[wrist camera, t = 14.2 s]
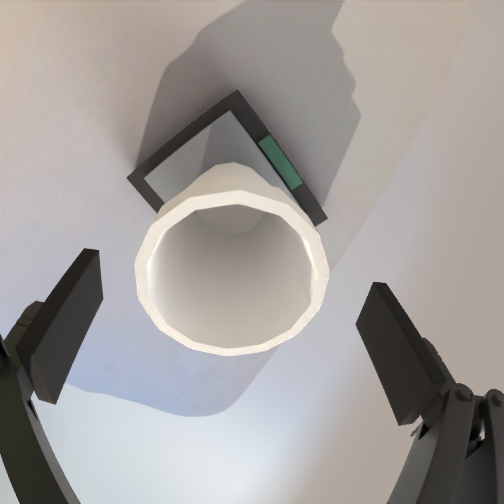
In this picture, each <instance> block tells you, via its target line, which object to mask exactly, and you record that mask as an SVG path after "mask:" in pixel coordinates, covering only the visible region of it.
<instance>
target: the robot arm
mask: <svg viewBox="0 0 504 504" xmlns="http://www.w3.org/2000/svg"><path fill="white" fill-rule="evenodd" d="M102 301H103V291H102V281H101V271H100V259H99V250H94V249H86V248H84V249H83V251H82V252H81V253H80V254H79V256H78V257H77V258H76V260H75V261H74V262H73V263H72V265H71V266H70V267H69V269H68V270H67V271H66V273H65V274H64V275H63V277H62V278H61V279H60V281H59V282H58V284H57V285H56V286H55V288H54V289H53V291H52V292H51V293H50V295H49V296H48V298H47V299H46V301H45V302H39V301H35V302H33V303H32V304H31V305H29V306H28V307H27V308H26V309H25V310H24V312H23V313H22V315H21V317H20V318H19V319H18V320H17V322H16V325H14V326H13V328H12V329H11V331H10V332H9V334H8V335H7V337H6V338H5V340H4V341H3V339H2V336H1V334H0V454H1V457H2V460H3V463H4V466H5V469H6V471H7V474H8V477H9V479H10V482H11V484H12V487H13V489H14V491H15V493H16V496H17V498H18V501H19V503H20V504H81V503H80V502H79V500H78V498H77V496H76V495H75V493H74V492H73V490H72V488H71V486H70V484H69V482H68V480H67V479H66V477H65V475H64V473H63V471H62V469H61V467H60V465H59V463H58V461H57V459H56V457H55V455H54V453H53V450H52V448H51V446H50V444H49V442H48V439H47V437H46V435H45V432H44V430H43V428H42V425H41V423H40V420H39V418H38V415H37V413H36V410H35V407H34V405H33V402H32V400H31V395H32V393H33V391H35V393H36V395H37V397H38V399H39V400H42V401H45V402H49V403H52V404H56V403H57V400H58V397H59V395H60V393H61V390H62V388H63V385H64V383H65V380H66V378H67V376H68V373H69V371H70V369H71V366H72V364H73V362H74V359H75V357H76V355H77V353H78V351H79V348H80V346H81V344H82V342H83V340H84V337H85V335H86V333H87V331H88V329H89V327H90V325H91V323H92V321H93V319H94V317H95V315H96V313H97V311H98V309H99V307H100V305H101V303H102ZM356 327H357V329H358V331H359V334H360V336H361V338H362V340H363V342H364V344H365V347H366V349H367V351H368V353H369V356H370V358H371V360H372V362H373V365H374V367H375V370H376V372H377V374H378V377H379V379H380V381H381V384H382V386H383V388H384V391H385V393H386V395H387V398H388V400H389V403H390V405H391V408H392V410H393V413H394V415H395V418H396V420H397V423H398V425H399V426H401V425H406V424H412V423H413V422H415V421H416V419H417V418H418V417H419V416H420V415H421V417H422V419H423V421H422V422H421V424H420V425H419V426H418V427H417V428H416V429H415V430H414V431H413V432H412V434H411V435H410V436H411V437H412V436H413V435H414V434H415V433H417V434H416V436H415V439H414V441H413V444H412V447H411V450H410V452H409V455H408V457H407V459H406V462H405V465H404V467H403V469H402V471H401V474H400V476H399V478H398V481H397V483H396V485H395V487H394V490H393V491H392V494H391V496H390V498H389V500H388V502H387V504H504V394H503V393H502V392H501V391H499V390H497V389H491V390H489V391H488V392H487V393H486V395H485V396H484V397H483V396H476V395H474V394H473V392H472V391H471V390H470V388H468V387H467V386H466V385H463V384H461V383H456V382H455V381H454V379H453V377H452V375H451V374H450V372H449V371H448V369H447V367H446V365H445V364H444V362H443V361H442V359H441V357H440V356H439V355H438V352H437V351H436V349H435V348H434V346H433V345H432V344H431V343H430V342H429V341H428V340H427V339H426V338H422V337H421V336H420V334H419V332H418V331H417V329H416V328H415V326H414V325H413V323H412V321H411V320H410V318H409V317H408V315H407V314H406V312H405V311H404V309H403V308H402V306H401V305H400V303H399V302H398V300H397V299H396V297H395V296H394V294H393V293H392V291H391V290H390V288H389V287H388V285H387V284H386V283H381V282H373V284H372V286H371V289H370V291H369V294H368V296H367V299H366V301H365V303H364V306H363V308H362V310H361V313H360V315H359V318H358V320H357V322H356ZM483 433H484V434H485V438H484V439H483V440H481V435H482V434H483Z"/></svg>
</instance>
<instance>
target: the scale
mask: <svg viewBox="0 0 504 504" xmlns="http://www.w3.org/2000/svg"><path fill="white" fill-rule="evenodd" d="M231 162H235V163H238V164H241V165H245V166H248V167H250V168H252V169H253V170H254V171H255V172H256V173H258V174H259V175H260V176H261V177H262V178H263V179H264V180H265V181H266V182H268V183H269V184H270V185H271V186H274V187H277V188H280V189H281V190H282V191H283V192H284V193H285V194H286V195H287V196H288V197H289V198H290V199H291V200H292V201H293V202H294V203H295V204H296V205H297V206H298V207H299V208H301V209H302V210H303V211H304V212H305V213H306V214H307V215H308V217H309V218H310V220H311V222H312V223H313V225H314V227H316V226H317V225H319V224H320V223H322V222H323V221H325V220H326V219H328V218H327V216H326V215H325V213H324V212H323V210H322V208H321V207H320V205H319V204H318V202H317V201H316V199H315V198H314V196H313V195H312V193H311V192H310V190H309V189H308V187H307V186H306V184H305V183H304V181H303V180H302V178H301V177H300V175H299V174H298V172H297V171H296V169H295V168H294V166H293V165H292V163H291V162H290V161H289V159H288V158H287V156H286V155H285V153H284V152H283V151H282V149H281V148H280V146H279V145H278V143H277V142H276V141H275V139H274V138H273V136H272V135H271V134H270V132H269V131H268V130H267V128H266V127H265V125H264V124H263V123H262V121H261V120H260V119H259V117H258V116H257V115H256V113H255V112H254V111H253V109H252V108H251V107H250V105H249V104H248V103H247V101H246V100H245V99H244V97H243V96H242V95H241V93H240V92H239V91H238V90H236V91H235V92H233V93H232V94H231V95H229V96H228V97H226V98H225V99H223V100H222V101H221V102H219V103H218V104H217V105H215V106H214V107H212V108H211V109H210V110H208V111H207V112H206V113H204V114H203V115H202V116H200V117H199V118H198V119H196V120H195V121H194V122H192V123H191V124H190V125H189V126H187V127H186V128H185V129H184V130H182V131H181V132H180V133H178V134H177V135H176V136H175V137H173V138H172V139H171V140H170V141H169V142H167V143H166V144H165V145H164V146H163V147H161V148H160V149H159V150H158V151H157V152H155V153H154V154H153V155H152V156H151V157H149V158H148V159H147V160H146V161H145V162H144V163H143V164H141V165H140V166H139V167H138V168H137V169H136V170H135V171H134V172H132V173H131V174H130V175H129V176H128V177H127V179H128V180H129V182H130V183H131V184H132V185H133V186H134V187H135V188H136V190H137V191H138V192H139V193H140V194H141V195H142V197H143V198H144V199H145V200H146V201H147V202H148V203H149V205H150V206H151V207H152V208H153V209H154V210H155V211H156V212H157V214H158V212H159V210H160V208H161V207H162V206H163V205H164V204H166V203H167V202H168V201H170V200H171V199H172V198H174V197H175V196H177V195H178V194H179V193H181V192H182V191H184V190H185V189H186V188H187V187H188V186H189V185H191V184H192V183H193V182H194V181H195V180H196V179H197V178H198V177H199V176H200V175H202V174H203V173H205V172H206V171H208V170H209V169H211V168H212V167H214V166H215V165H218V164H225V163H231Z"/></svg>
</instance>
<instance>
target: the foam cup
mask: <svg viewBox="0 0 504 504" xmlns="http://www.w3.org/2000/svg"><path fill="white" fill-rule="evenodd" d="M134 264H135V274H136V284H137V293H138V299H139V301H140V302H141V304H142V305H143V307H144V308H145V310H146V311H147V313H148V314H149V316H150V317H151V319H152V320H153V322H154V323H155V325H156V326H157V327H158V329H160V330H161V331H163V332H164V333H166V334H167V335H169V336H170V337H172V338H174V339H175V340H177V341H178V342H180V343H181V344H183V345H185V346H186V347H188V348H190V349H194V350H198V351H203V352H208V353H213V354H217V355H222V356H234V355H242V354H250V353H257V352H264V351H266V350H268V349H270V348H272V347H274V346H276V345H278V344H280V343H282V342H284V341H286V340H288V339H290V338H292V337H294V336H296V335H297V334H298V333H299V332H300V331H301V330H302V329H303V328H304V326H305V325H306V324H307V323H308V322H309V321H310V319H311V318H312V317H313V316H314V315H315V314H316V313H317V311H318V310H319V309H320V308H321V305H322V301H323V297H324V294H325V289H326V286H327V282H328V278H329V274H330V271H329V267H328V264H327V260H326V256H325V253H324V249H323V246H322V242H321V239H320V235H319V233H318V232H317V230H316V228H315V227H314V225H313V223H312V222H311V220H310V218H309V217H308V215H307V214H306V213H305V212H304V211H303V210H302V209H301V208H299V207H298V206H297V205H296V204H295V203H294V202H293V201H292V200H291V199H290V198H289V197H288V196H287V195H286V194H285V193H284V192H283V191H282V190H281V189H280V188H277V187H274V186H271V185H270V184H269V183H268V182H266V181H265V180H264V179H263V178H262V177H261V176H260V175H259V174H258V173H256V172H255V171H254V170H253V169H252V168H250V167H248V166H245V165H241V164H238V163H235V162H231V163H225V164H218V165H215V166H214V167H212V168H211V169H209V170H208V171H206V172H205V173H203V174H202V175H200V176H199V177H198V178H197V179H196V180H195V181H194V182H193V183H192V184H191V185H189V186H188V187H187V188H186V189H185V190H184V191H182V192H181V193H179V194H178V195H177V196H175V197H174V198H172V199H171V200H170V201H168V202H167V203H166V204H164V205H163V206H162V207H161V208H160V210H159V212H158V214H157V216H156V217H155V219H154V221H153V223H152V225H151V227H150V229H149V231H148V233H147V235H146V237H145V239H144V242H143V244H142V246H141V248H140V250H139V252H138V255H137V257H136V259H135V261H134Z"/></svg>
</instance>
